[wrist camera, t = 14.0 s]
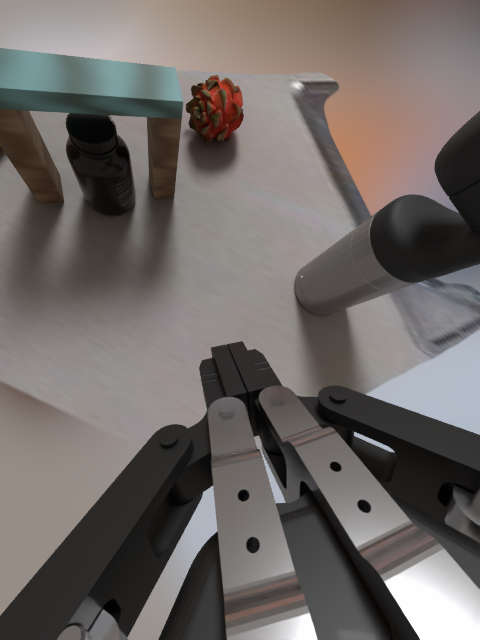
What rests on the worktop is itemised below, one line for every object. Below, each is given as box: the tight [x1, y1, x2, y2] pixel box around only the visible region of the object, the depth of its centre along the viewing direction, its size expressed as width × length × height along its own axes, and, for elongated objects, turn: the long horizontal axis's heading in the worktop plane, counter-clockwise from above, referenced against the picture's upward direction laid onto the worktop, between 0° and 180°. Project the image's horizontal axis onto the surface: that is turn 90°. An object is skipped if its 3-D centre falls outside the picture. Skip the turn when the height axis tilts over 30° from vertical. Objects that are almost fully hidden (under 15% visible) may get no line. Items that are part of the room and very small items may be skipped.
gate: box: [0, 48, 183, 203], centre depth 33 cm, size 18×4×16 cm, turn 104°
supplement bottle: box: [66, 113, 135, 216], centre depth 34 cm, size 7×7×12 cm
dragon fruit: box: [186, 75, 244, 143], centre depth 44 cm, size 8×8×12 cm
